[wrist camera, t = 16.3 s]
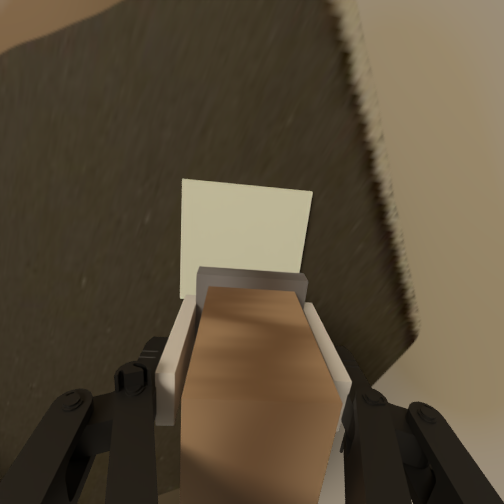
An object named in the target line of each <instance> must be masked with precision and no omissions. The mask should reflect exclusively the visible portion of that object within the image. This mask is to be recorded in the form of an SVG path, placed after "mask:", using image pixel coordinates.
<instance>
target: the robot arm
mask: <svg viewBox="0 0 504 504" xmlns="http://www.w3.org/2000/svg"><path fill="white" fill-rule="evenodd" d="M303 312H304V315H305V317H306V319H307V322H308V324H309V326H310V329H311V331H312V333H313V336H314V338H315V340H316V343H317V345H318V347H319V350H320V352H321V354H322V357H323V359H324V361H325V364H326V366H327V368H328V371H329V373H330V375H331V378H332V380H333V382H334V385H335V387H336V389H337V392H338V394H339V396H340V399H341V401H342V403H343V405H342V409H341V413H340V417H339V421H338V425H337V429H336V431H339V429H340V425H341V422H342V423H343V426H344V428H345V433H344V437H343V441H342V444H341V448H340V452H341V453H342V452H343V449H344V474H345V475H344V476H345V504H412V502H413V504H504V502H503V501H502V499H501V498H500V497H499V495H498V494H497V492H496V491H495V489H494V488H493V487H492V485H491V484H490V482H489V481H488V480H487V478H486V477H485V475H484V474H483V472H482V471H481V470H480V468H479V467H478V465H477V464H476V462H475V461H474V460H473V458H472V457H471V455H470V454H469V453H468V451H467V450H466V448H465V447H464V446H463V444H462V443H461V441H460V440H459V438H458V437H457V436H456V434H455V433H454V432H453V430H452V429H451V427H450V426H449V425H448V423H447V422H446V420H445V419H444V417H443V416H442V415H441V414H440V413H439V412H438V411H437V410H436V409H434V408H433V407H431V406H429V405H427V404H425V403H422V402H413V403H411V404H410V405H409V408H408V409H406V408H403V407H399V406H396V405H393V404H390V403H388V402H387V399H386V398H385V397H384V396H383V395H382V394H381V393H380V392H378V391H377V390H375V389H372V388H371V386H370V384H369V383H368V381H367V379H366V378H365V376H364V374H363V372H362V371H361V369H360V368H359V366H358V364H357V362H356V361H355V359H354V357H353V355H352V354H351V352H349V351H348V350H347V349H346V348H345V347H343V346H334V345H333V343H332V342H331V340H330V338H329V336H328V334H327V332H326V330H325V328H324V326H323V324H322V322H321V320H320V318H319V316H318V314H317V312H316V310H315V308H314V306H313V304H312V303H305V304H304V309H303ZM195 319H196V295H185V298H184V301H183V303H182V306H181V308H180V311H179V313H178V316H177V318H176V321H175V323H174V326H173V328H172V331H171V334H170V336H169V337H153V338H152V339H150V340H149V341H148V342H147V343H146V345H145V347H144V349H143V351H142V353H141V354H140V357H139V358H138V360H137V361H132V362H129V363H126V364H124V365H122V366H121V367H120V368H119V369H118V370H117V371H116V373H115V375H114V379H115V391H113V392H111V393H108V394H104V395H99V396H94V397H93V396H92V394H91V392H90V391H88V390H87V389H75V390H71V391H68V392H66V393H64V394H62V395H61V396H59V397H58V398H57V399H56V400H55V401H54V402H53V403H52V405H51V406H50V408H49V409H48V411H47V412H46V414H45V415H44V417H43V418H42V420H41V421H40V423H39V424H38V426H37V427H36V429H35V430H34V432H33V434H32V435H31V437H30V438H29V440H28V441H27V443H26V444H25V446H24V447H23V449H22V450H21V452H20V453H19V455H18V456H17V458H16V459H15V461H14V462H13V464H12V465H11V467H10V469H9V470H8V472H7V473H6V475H5V476H4V478H3V479H2V481H1V482H0V504H77V502H78V499H79V497H80V494H81V492H82V489H83V487H84V484H85V482H86V479H87V477H88V474H89V472H90V469H91V467H92V464H93V462H94V459H95V456H96V454H100V453H103V452H107V451H110V456H109V466H108V477H107V487H106V498H105V504H158V493H157V475H156V457H155V439H154V420H155V417H156V425H162V426H174V424H175V420H176V416H177V412H178V408H179V404H180V399H181V395H182V391H183V387H184V383H185V379H186V375H187V371H188V367H189V363H190V358H191V354H192V350H193V346H194V342H195ZM411 500H412V502H411Z"/></svg>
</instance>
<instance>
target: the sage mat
mask: <svg viewBox="0 0 504 504" xmlns="http://www.w3.org/2000/svg"><path fill="white" fill-rule="evenodd" d="M312 194H313V192H312V191H303V190H293V189H282V188H272V187H262V186H252V185H241V184H231V183H221V182H211V181H201V180H190V179H182V217H181V270H180V299H184V298H185V295H196V276H197V271H198V269H199V266H204V267H218V268H233V269H247V270H262V271H276V272H291V273H299V272H300V266H301V260H302V254H303V248H304V242H305V236H306V230H307V224H308V218H309V212H310V206H311V200H312Z"/></svg>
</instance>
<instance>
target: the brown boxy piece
mask: <svg viewBox="0 0 504 504" xmlns="http://www.w3.org/2000/svg"><path fill="white" fill-rule="evenodd" d="M307 286H308V280H307V278H306V277H305V275H304V273H291V272H276V271H262V270H247V269H233V268H218V267H204V266H199V269H198V271H197V276H196V319H195V342H194V349H193V353H192V357H191V361H190V365H189V369H188V374H187V378H186V382H185V386H184V390H183V394H182V399H181V461H180V504H318V500H319V496H320V492H321V488H322V484H323V480H324V476H325V472H326V468H327V464H328V460H329V456H330V452H331V448H332V444H333V440H334V437H335V433H336V429H337V425H338V421H339V417H340V413H341V409H342V405H343V403H342V401H341V399H340V396H339V394H338V392H337V389H336V387H335V385H334V382H333V380H332V378H331V375H330V373H329V371H328V368H327V366H326V364H325V361H324V359H323V357H322V354H321V352H320V350H319V347H318V345H317V343H316V340H315V338H314V336H313V333H312V331H311V329H310V326H309V324H308V322H307V319H306V317H305V315H304V312H303V309H304V304H305V298H306V292H307Z"/></svg>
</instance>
